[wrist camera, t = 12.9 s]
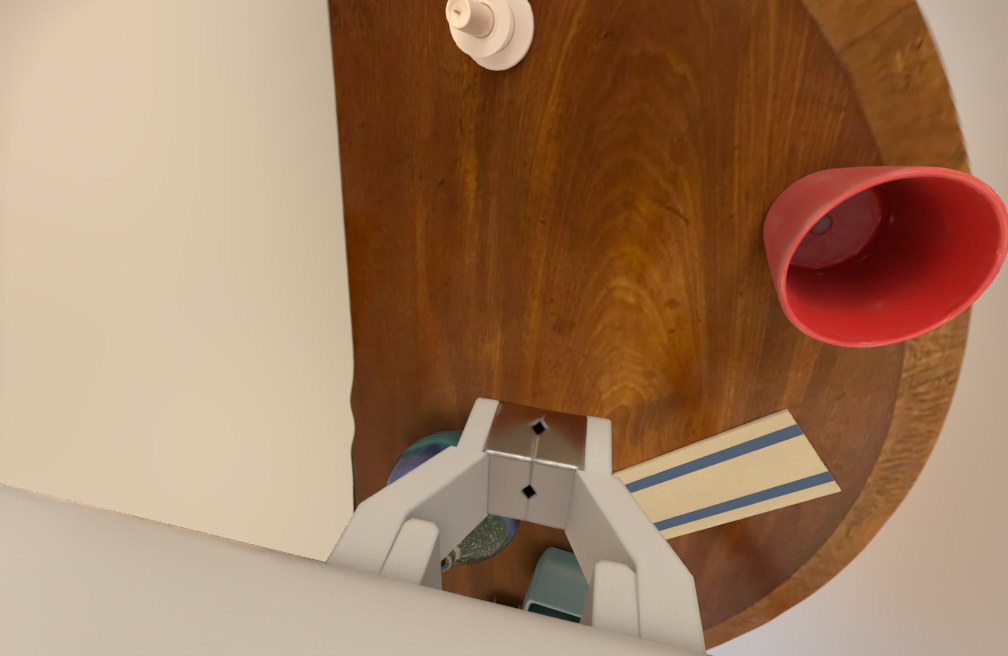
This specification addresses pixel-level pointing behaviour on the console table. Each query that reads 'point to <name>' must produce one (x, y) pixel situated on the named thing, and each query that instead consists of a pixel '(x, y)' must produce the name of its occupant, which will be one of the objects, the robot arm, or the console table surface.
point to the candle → (492, 30)
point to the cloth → (729, 476)
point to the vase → (487, 533)
